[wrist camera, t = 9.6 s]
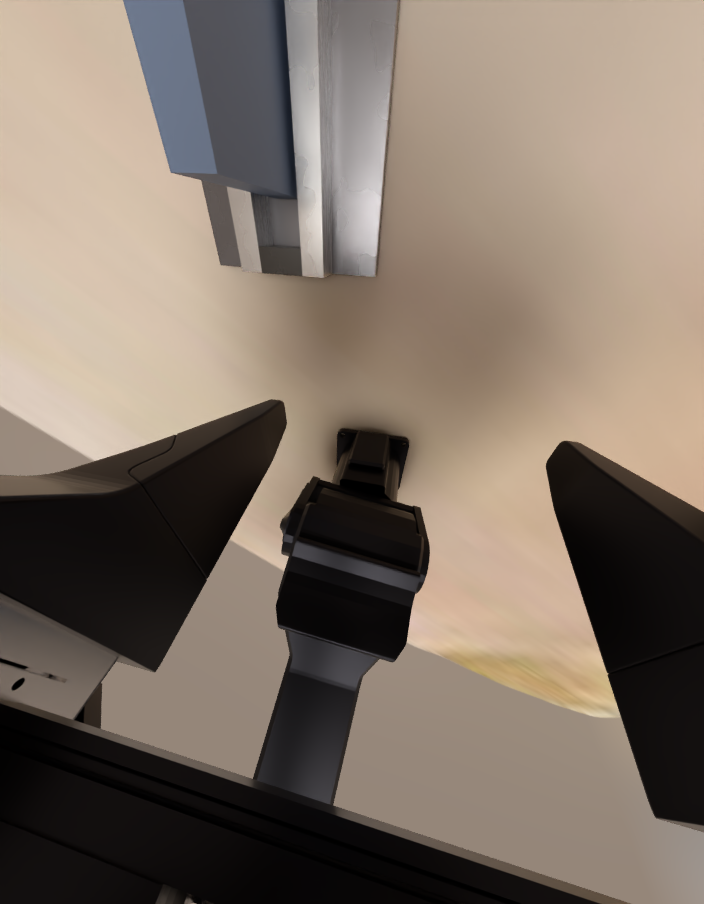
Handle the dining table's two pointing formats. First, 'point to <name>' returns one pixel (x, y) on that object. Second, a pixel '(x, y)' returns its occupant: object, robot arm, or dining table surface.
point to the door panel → (220, 89)
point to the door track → (322, 149)
